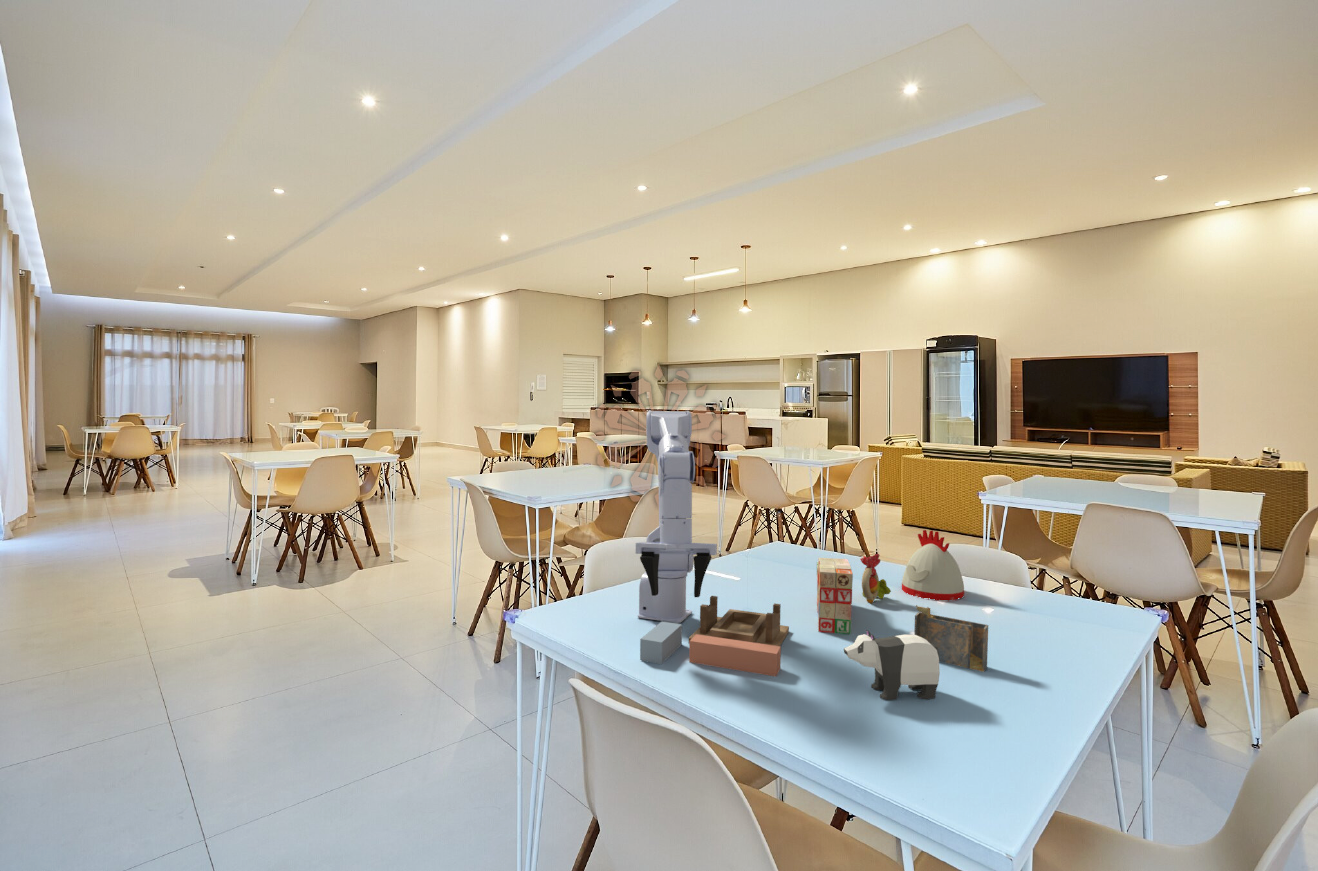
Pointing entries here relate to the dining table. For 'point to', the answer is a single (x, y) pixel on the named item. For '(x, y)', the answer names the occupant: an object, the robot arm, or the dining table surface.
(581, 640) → the dining table surface
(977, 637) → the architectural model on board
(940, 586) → the kitchen timer
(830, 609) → the stack of blocks
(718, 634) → the jig
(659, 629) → the pale grey pillar block
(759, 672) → the terracotta rectangular bar
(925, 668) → the giant panda
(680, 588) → the robot arm
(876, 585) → the bird rattle
